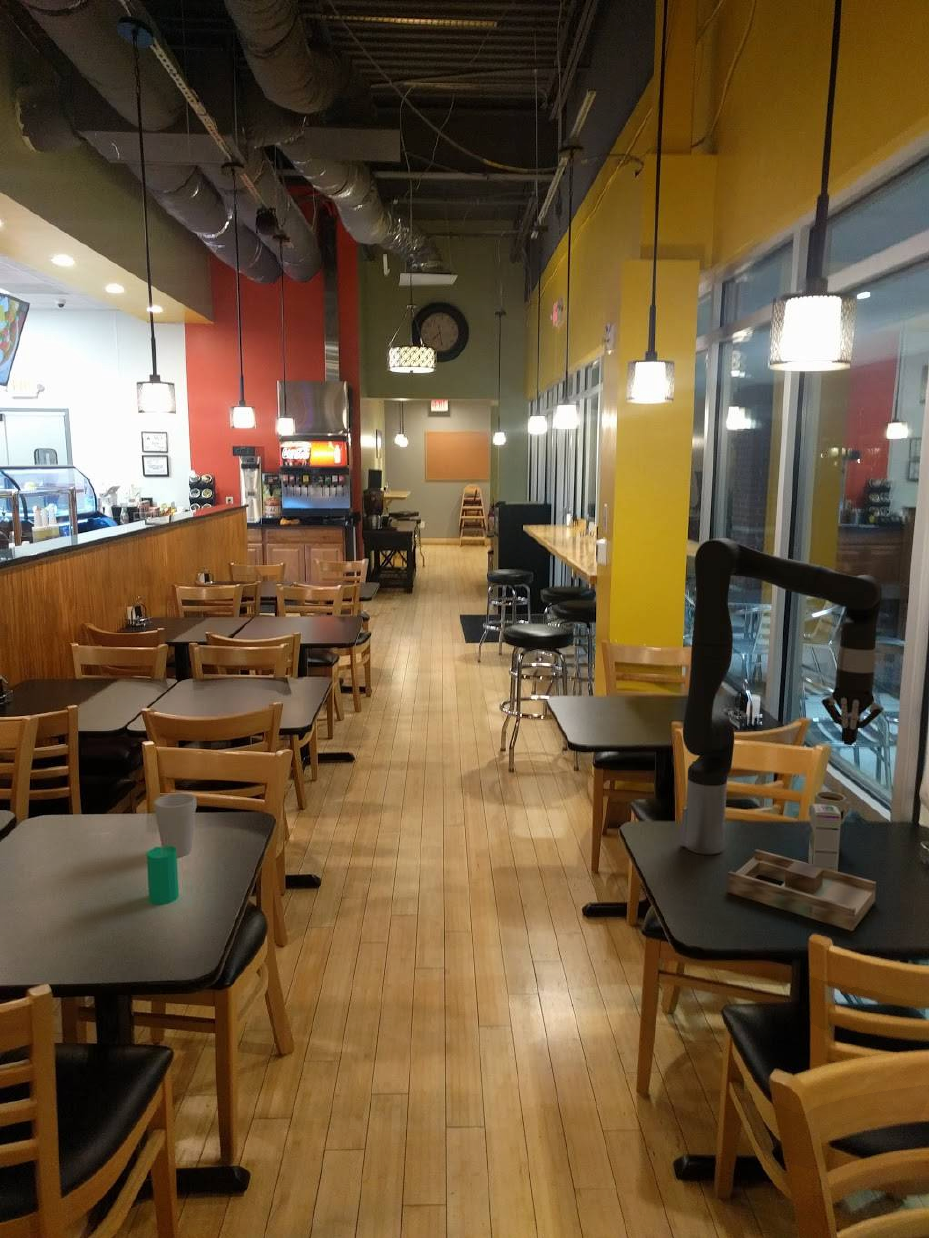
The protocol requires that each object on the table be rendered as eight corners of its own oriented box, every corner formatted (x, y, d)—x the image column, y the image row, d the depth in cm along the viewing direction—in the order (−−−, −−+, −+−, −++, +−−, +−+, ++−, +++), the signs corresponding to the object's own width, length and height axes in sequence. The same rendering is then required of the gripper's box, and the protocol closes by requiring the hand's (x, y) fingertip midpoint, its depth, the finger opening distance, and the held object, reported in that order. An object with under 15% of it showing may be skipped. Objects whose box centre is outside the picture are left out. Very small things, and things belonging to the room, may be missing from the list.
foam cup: (206, 850, 211) (204, 798, 209) (175, 863, 204) (172, 810, 202) (179, 841, 216) (177, 790, 214) (148, 854, 209) (145, 801, 207)
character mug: (815, 854, 212) (819, 802, 210) (798, 842, 219) (801, 792, 217) (855, 850, 214) (859, 799, 212) (837, 839, 221) (841, 789, 219)
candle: (184, 893, 189) (182, 840, 187) (166, 906, 184) (164, 852, 182) (161, 889, 191) (158, 836, 189) (142, 901, 185) (139, 847, 184)
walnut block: (784, 885, 189) (785, 870, 188) (794, 875, 193) (795, 860, 193) (813, 893, 185) (814, 878, 184) (822, 883, 190) (823, 868, 189)
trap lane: (727, 892, 192) (728, 872, 191) (755, 867, 204) (756, 849, 204) (852, 931, 176) (854, 909, 175) (874, 901, 188) (876, 881, 187)
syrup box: (838, 874, 201) (843, 813, 199) (810, 871, 202) (815, 811, 200) (833, 863, 207) (837, 804, 204) (806, 861, 208) (810, 802, 205)
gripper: (818, 665, 193) (812, 741, 196) (883, 675, 185) (875, 754, 188) (829, 660, 199) (823, 734, 202) (892, 669, 190) (885, 746, 193)
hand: (848, 743), depth 195 cm, fingers closed
